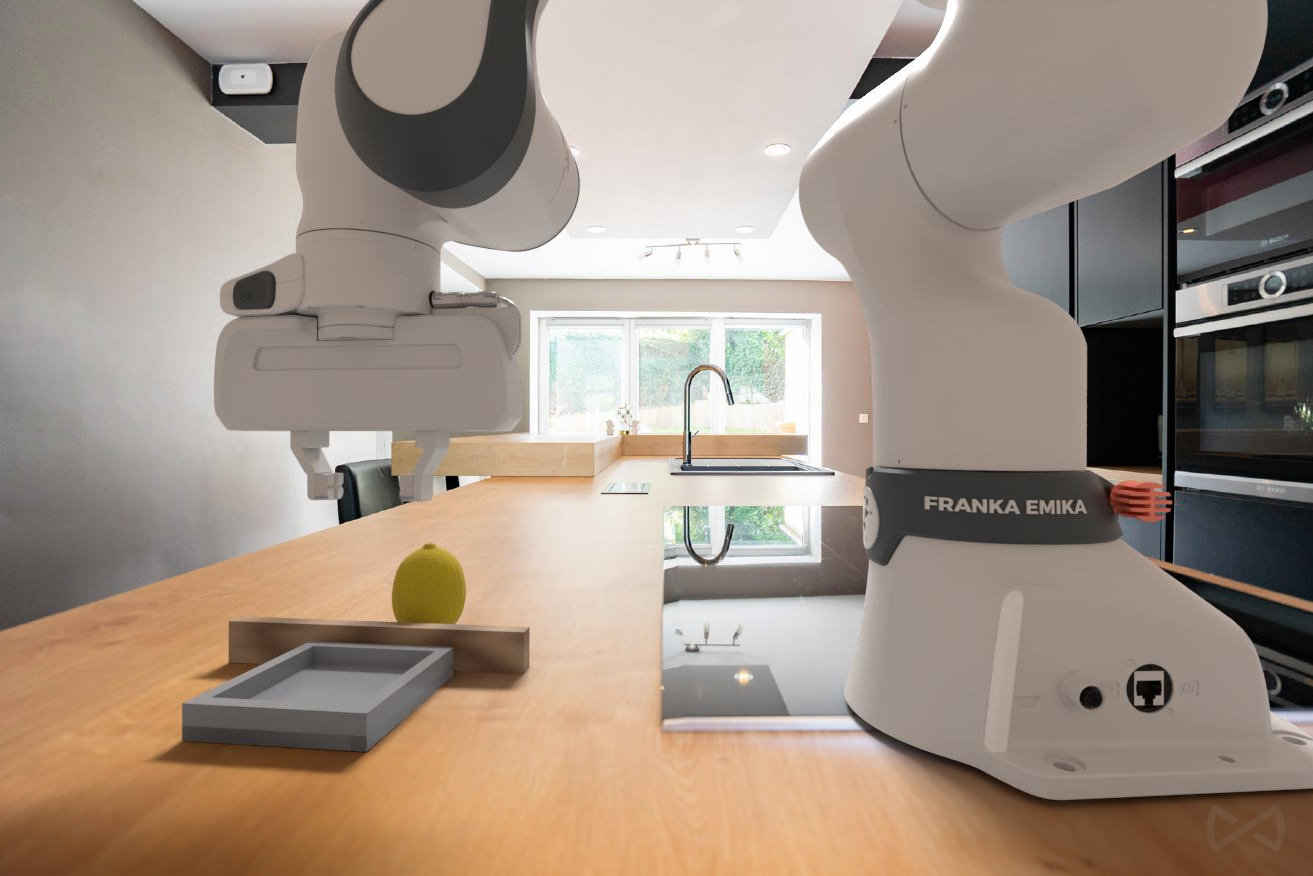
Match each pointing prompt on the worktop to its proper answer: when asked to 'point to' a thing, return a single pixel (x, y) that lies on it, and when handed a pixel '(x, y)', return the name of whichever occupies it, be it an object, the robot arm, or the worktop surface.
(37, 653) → the worktop surface
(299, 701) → the dish
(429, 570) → the lemon
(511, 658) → the rail
